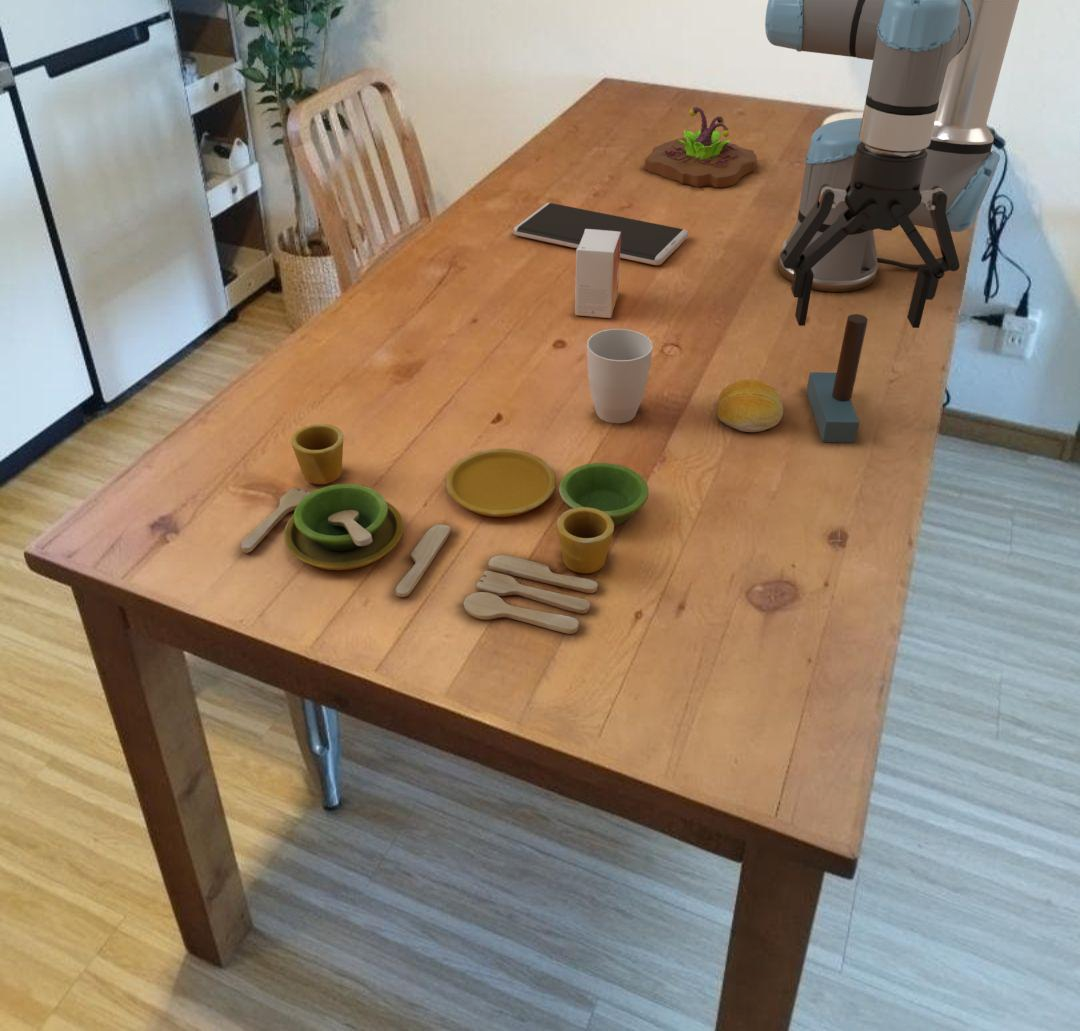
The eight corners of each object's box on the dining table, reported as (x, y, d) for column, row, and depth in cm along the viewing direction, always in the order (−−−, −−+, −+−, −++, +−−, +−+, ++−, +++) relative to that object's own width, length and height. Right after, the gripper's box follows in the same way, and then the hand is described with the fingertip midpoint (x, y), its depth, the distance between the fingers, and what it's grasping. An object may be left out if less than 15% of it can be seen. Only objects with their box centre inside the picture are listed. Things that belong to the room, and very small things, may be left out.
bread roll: (715, 432, 135) (718, 405, 133) (719, 395, 142) (722, 368, 140) (782, 438, 134) (786, 411, 131) (782, 401, 141) (786, 374, 138)
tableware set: (224, 553, 116) (213, 506, 112) (347, 422, 137) (341, 379, 133) (584, 648, 105) (586, 600, 101) (660, 489, 125) (664, 445, 121)
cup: (654, 402, 140) (659, 334, 134) (638, 435, 134) (643, 365, 128) (595, 391, 143) (597, 324, 136) (576, 423, 137) (578, 354, 130)
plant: (681, 143, 219) (686, 86, 212) (768, 163, 210) (776, 104, 203) (630, 171, 206) (633, 112, 199) (720, 194, 197) (726, 133, 190)
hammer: (837, 392, 143) (857, 296, 134) (856, 442, 133) (878, 342, 125) (806, 391, 143) (823, 295, 134) (822, 442, 133) (842, 342, 125)
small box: (611, 319, 159) (614, 252, 152) (574, 316, 160) (575, 249, 153) (619, 295, 165) (622, 230, 158) (583, 292, 166) (584, 227, 159)
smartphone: (547, 210, 191) (547, 200, 190) (689, 238, 182) (690, 228, 181) (511, 237, 182) (511, 227, 181) (659, 268, 172) (660, 258, 171)
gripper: (997, 135, 119) (951, 309, 132) (772, 132, 120) (748, 305, 133) (1019, 158, 113) (969, 338, 126) (783, 155, 114) (757, 334, 127)
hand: (856, 322), depth 129 cm, fingers open, 13 cm apart
